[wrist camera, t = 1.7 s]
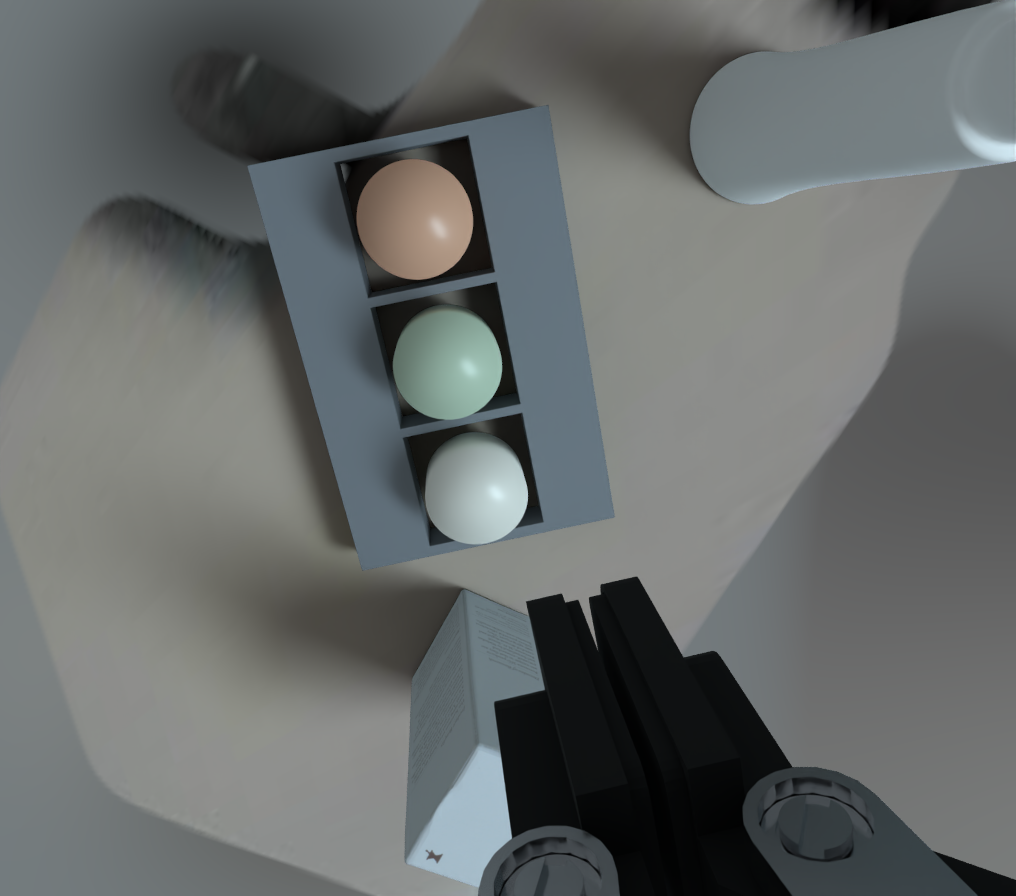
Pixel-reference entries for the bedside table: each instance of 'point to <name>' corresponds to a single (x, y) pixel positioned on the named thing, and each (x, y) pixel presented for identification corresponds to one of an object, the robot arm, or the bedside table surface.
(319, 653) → the bedside table surface
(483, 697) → the skincare box
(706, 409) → the bedside table surface
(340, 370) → the button board
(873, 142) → the cosmetic bottle
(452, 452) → the ivory button
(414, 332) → the sage button
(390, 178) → the terracotta button
